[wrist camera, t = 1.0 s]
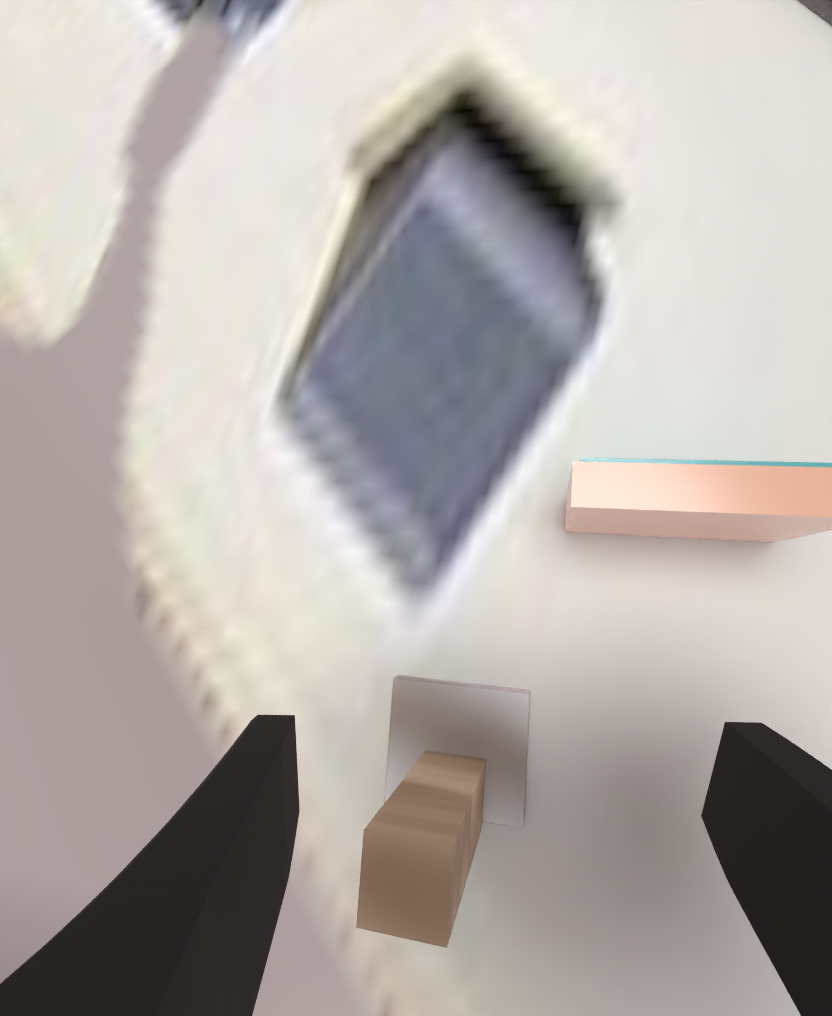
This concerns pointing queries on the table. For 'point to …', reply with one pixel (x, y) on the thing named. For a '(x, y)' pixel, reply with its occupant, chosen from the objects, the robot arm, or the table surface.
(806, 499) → the tile
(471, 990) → the table surface
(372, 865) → the grey square paddle
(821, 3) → the phone
